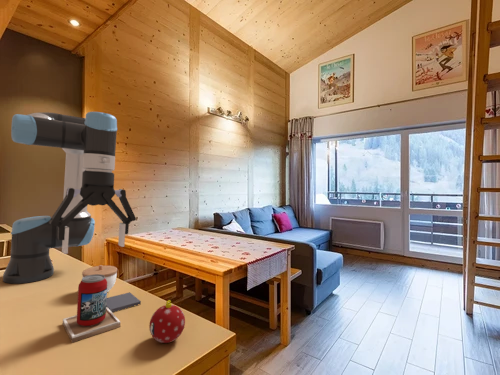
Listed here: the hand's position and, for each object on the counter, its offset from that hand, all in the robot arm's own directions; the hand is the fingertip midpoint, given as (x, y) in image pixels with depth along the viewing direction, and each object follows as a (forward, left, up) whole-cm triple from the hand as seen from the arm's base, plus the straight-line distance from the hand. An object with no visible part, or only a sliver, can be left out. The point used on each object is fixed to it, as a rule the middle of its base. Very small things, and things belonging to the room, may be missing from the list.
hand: (94, 249), depth 71 cm
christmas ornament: (+19, +12, -21) cm, 31 cm away
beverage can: (0, 0, -20) cm, 20 cm away
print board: (0, 0, -21) cm, 21 cm away
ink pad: (-8, +10, -21) cm, 25 cm away
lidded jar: (-22, +8, -21) cm, 31 cm away
